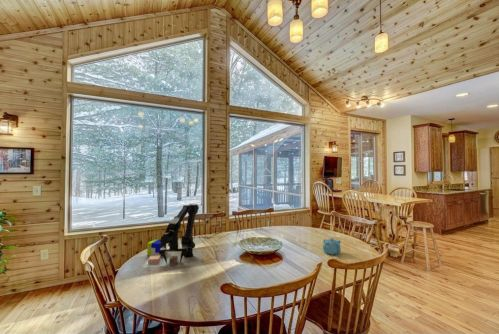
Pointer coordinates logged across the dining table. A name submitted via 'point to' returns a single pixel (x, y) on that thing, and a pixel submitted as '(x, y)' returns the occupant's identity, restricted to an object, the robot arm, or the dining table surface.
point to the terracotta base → (154, 259)
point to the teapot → (331, 246)
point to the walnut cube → (173, 260)
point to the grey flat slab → (161, 263)
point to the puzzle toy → (154, 247)
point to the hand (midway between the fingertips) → (173, 262)
